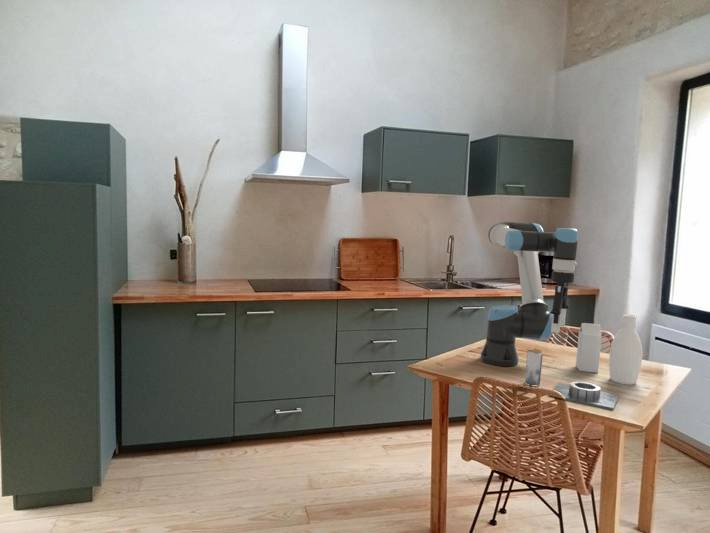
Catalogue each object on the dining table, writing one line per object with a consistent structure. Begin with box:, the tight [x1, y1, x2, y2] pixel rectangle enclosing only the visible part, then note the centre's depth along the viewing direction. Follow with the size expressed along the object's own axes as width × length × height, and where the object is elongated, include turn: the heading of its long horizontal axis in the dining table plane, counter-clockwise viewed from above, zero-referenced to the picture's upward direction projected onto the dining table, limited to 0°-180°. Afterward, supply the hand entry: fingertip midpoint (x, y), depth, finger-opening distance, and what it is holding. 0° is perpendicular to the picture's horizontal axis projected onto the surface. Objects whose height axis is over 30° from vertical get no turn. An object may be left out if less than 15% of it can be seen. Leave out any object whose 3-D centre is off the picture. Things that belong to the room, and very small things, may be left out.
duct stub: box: [524, 348, 543, 387], centre depth 193 cm, size 5×5×13 cm
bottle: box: [608, 313, 643, 386], centre depth 202 cm, size 11×11×25 cm
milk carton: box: [575, 322, 603, 374], centre depth 216 cm, size 7×7×19 cm
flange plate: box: [552, 380, 620, 411], centre depth 183 cm, size 20×16×4 cm
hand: (557, 329), depth 195 cm, fingers open, 13 cm apart
